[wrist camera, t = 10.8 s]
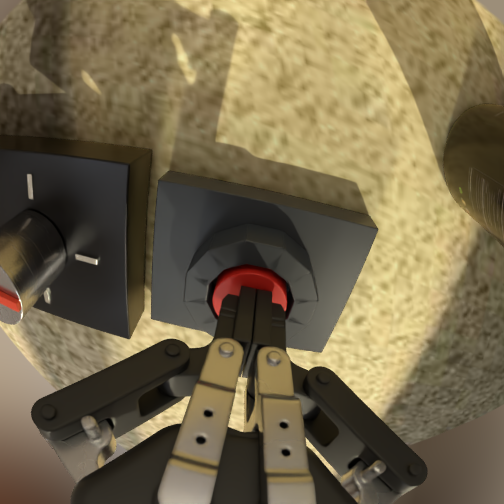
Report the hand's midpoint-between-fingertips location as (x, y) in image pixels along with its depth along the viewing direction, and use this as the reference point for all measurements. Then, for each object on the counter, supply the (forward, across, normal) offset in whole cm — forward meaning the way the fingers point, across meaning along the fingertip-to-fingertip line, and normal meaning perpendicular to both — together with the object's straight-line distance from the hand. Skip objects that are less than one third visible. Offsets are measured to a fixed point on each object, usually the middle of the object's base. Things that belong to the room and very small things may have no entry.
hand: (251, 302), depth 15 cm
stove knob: (+1, +13, 0) cm, 13 cm away
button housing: (+4, 0, 0) cm, 4 cm away
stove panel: (+4, +13, 0) cm, 13 cm away
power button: (+2, 0, 0) cm, 2 cm away
